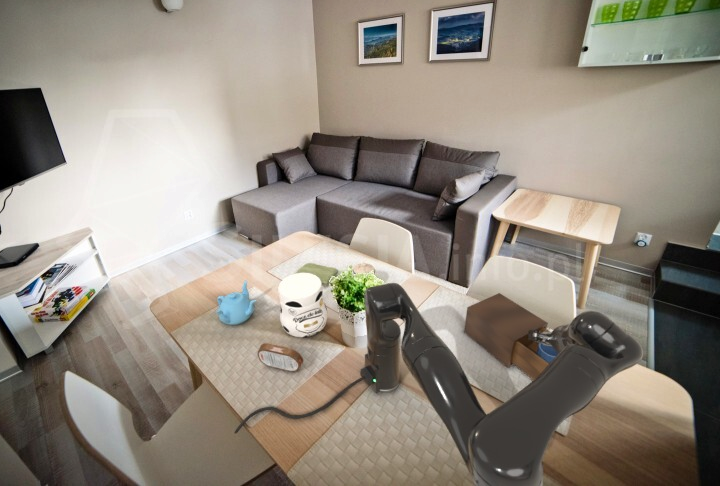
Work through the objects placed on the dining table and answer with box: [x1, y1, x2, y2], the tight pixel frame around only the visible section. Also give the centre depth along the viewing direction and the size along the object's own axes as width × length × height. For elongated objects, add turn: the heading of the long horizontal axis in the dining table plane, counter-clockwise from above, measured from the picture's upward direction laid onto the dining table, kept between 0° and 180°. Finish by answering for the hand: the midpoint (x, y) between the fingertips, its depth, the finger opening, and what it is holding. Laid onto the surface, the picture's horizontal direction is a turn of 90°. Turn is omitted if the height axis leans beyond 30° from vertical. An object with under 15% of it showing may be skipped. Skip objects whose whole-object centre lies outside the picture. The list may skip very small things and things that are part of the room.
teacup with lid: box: [352, 262, 376, 275], centre depth 137 cm, size 12×9×12 cm
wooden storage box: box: [463, 292, 549, 369], centre depth 105 cm, size 17×15×11 cm
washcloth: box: [293, 262, 339, 287], centre depth 148 cm, size 13×18×3 cm
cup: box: [536, 343, 558, 363], centre depth 93 cm, size 6×6×7 cm
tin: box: [257, 342, 304, 373], centre depth 103 cm, size 15×3×8 cm, turn 71°
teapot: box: [214, 280, 257, 326], centre depth 126 cm, size 15×15×10 cm
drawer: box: [511, 327, 551, 381], centre depth 92 cm, size 20×14×9 cm
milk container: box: [277, 272, 328, 339], centre depth 117 cm, size 17×17×18 cm
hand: (555, 342), depth 88 cm, fingers open, 8 cm apart
